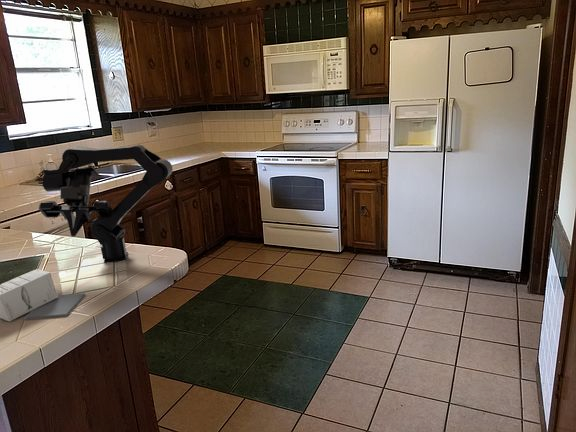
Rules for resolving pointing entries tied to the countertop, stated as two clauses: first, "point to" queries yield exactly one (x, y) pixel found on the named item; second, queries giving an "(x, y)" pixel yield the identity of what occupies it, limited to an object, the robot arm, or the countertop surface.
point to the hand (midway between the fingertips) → (73, 235)
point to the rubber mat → (56, 307)
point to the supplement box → (26, 294)
